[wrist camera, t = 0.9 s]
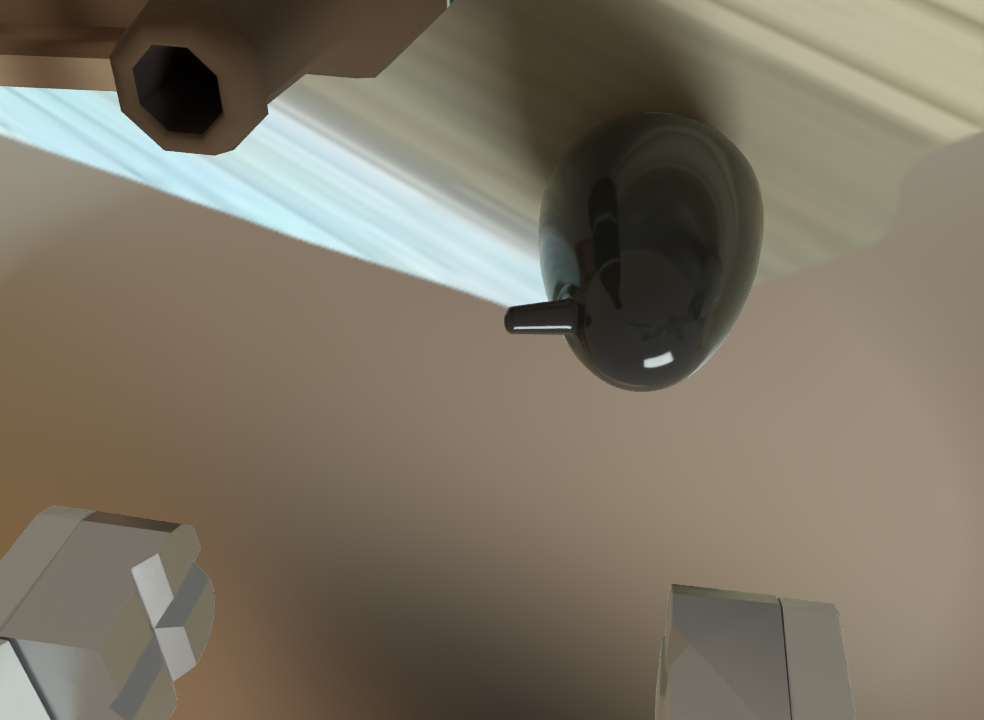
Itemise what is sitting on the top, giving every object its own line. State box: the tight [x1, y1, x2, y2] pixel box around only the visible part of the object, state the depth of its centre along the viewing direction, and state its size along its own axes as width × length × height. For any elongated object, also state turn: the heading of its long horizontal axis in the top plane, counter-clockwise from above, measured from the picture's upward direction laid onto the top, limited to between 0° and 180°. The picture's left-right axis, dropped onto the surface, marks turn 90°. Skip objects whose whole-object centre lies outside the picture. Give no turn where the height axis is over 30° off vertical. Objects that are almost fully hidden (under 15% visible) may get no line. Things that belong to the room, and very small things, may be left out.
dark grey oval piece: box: [504, 112, 764, 392], centre depth 40 cm, size 10×10×15 cm
